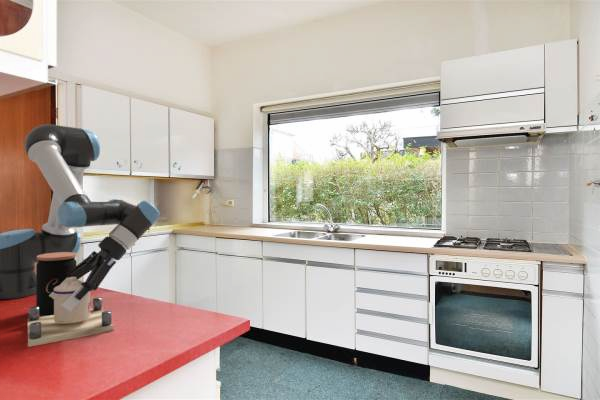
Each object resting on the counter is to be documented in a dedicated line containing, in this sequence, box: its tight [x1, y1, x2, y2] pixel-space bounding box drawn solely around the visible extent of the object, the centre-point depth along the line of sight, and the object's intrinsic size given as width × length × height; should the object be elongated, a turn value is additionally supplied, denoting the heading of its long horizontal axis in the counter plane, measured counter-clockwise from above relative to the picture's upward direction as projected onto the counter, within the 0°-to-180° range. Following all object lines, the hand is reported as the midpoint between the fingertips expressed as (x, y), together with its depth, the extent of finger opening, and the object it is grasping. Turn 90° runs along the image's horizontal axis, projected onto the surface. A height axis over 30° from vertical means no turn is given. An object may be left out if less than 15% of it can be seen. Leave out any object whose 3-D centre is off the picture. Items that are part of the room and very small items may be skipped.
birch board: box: [27, 307, 115, 348], centre depth 103 cm, size 19×19×2 cm
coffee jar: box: [35, 252, 77, 316], centre depth 117 cm, size 11×11×18 cm
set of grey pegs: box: [28, 296, 112, 340], centre depth 103 cm, size 18×18×4 cm
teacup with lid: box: [53, 277, 91, 324], centre depth 103 cm, size 12×9×12 cm
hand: (59, 303), depth 101 cm, fingers closed on teacup with lid, 12 cm apart
